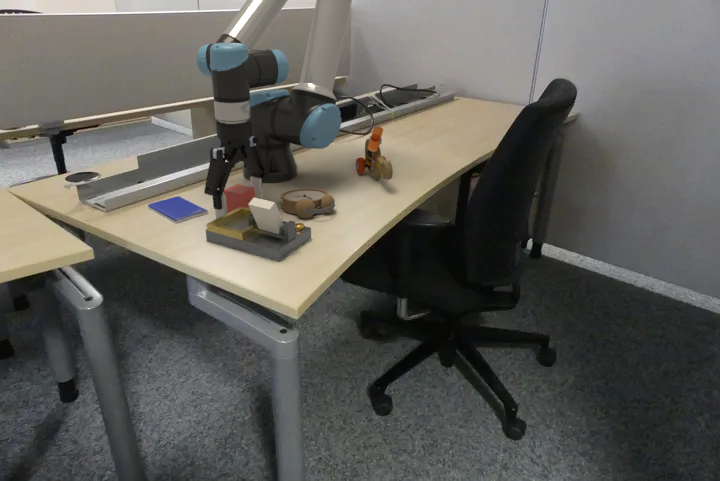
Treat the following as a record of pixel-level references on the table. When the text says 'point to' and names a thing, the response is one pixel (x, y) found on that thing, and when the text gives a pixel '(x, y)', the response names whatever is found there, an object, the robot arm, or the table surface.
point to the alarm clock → (307, 202)
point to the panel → (256, 235)
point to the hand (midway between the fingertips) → (240, 211)
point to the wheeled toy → (374, 158)
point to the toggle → (267, 216)
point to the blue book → (177, 209)
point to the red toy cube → (238, 196)
